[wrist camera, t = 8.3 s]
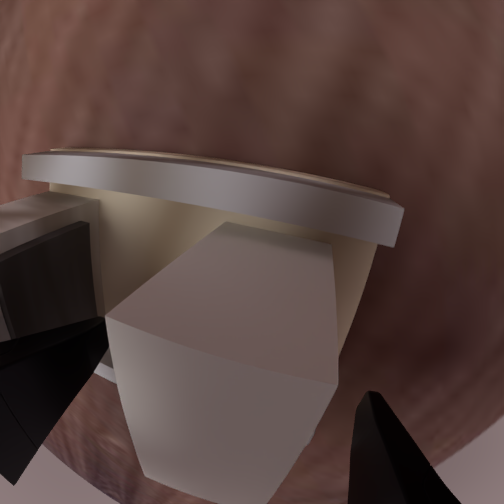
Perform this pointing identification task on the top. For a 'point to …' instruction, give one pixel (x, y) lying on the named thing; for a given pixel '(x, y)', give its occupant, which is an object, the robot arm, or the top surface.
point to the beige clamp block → (164, 229)
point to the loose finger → (228, 362)
